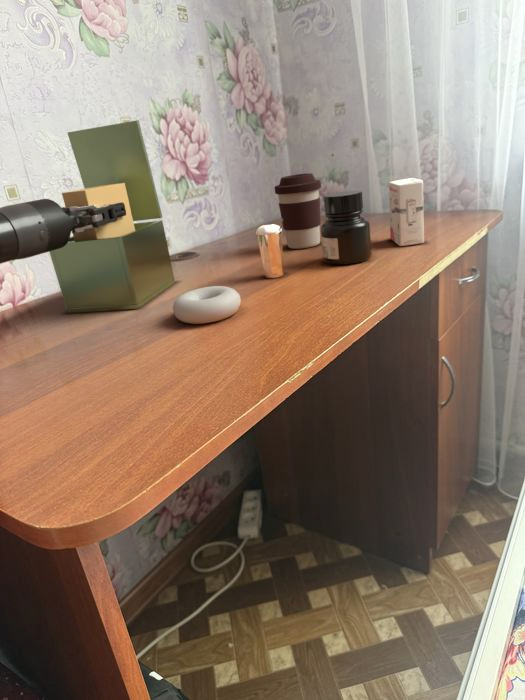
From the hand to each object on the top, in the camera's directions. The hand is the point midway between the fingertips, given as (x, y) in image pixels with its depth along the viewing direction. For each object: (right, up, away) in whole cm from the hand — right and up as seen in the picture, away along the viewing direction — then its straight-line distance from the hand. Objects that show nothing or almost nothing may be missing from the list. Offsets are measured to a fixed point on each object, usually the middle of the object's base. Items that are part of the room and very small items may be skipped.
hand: (110, 209), depth 86 cm
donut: (+18, -19, -12) cm, 29 cm away
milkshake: (+29, -11, +4) cm, 31 cm away
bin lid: (0, +7, +3) cm, 7 cm away
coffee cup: (+35, -1, +26) cm, 44 cm away
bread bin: (+1, -14, +5) cm, 15 cm away
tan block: (0, -6, 0) cm, 7 cm away
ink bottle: (+42, -7, +8) cm, 43 cm away
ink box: (+56, -2, +15) cm, 58 cm away
